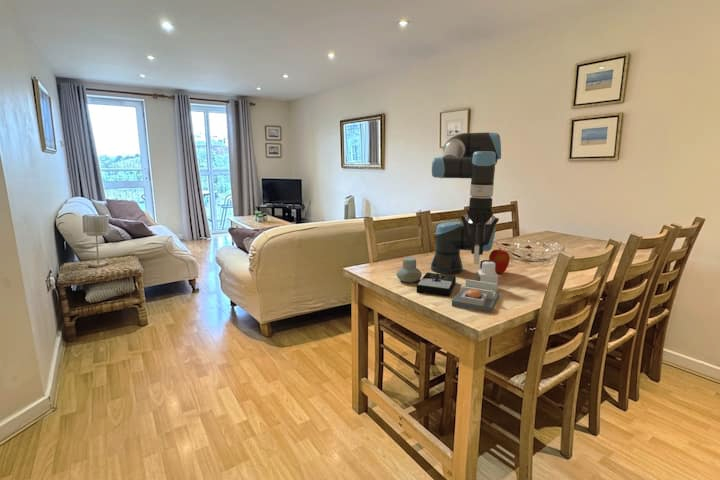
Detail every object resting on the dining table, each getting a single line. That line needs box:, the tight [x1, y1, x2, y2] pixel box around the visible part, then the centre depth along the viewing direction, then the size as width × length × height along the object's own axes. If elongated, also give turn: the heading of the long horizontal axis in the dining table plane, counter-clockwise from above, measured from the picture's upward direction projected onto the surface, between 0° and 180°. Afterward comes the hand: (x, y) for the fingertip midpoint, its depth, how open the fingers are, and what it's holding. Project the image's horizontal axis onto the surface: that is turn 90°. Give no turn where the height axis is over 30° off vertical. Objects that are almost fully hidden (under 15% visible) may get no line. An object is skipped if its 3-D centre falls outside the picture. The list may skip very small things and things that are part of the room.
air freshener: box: [396, 257, 423, 284], centre depth 165 cm, size 11×8×10 cm
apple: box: [488, 248, 511, 274], centre depth 178 cm, size 9×9×12 cm
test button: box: [467, 289, 482, 299], centre depth 137 cm, size 5×5×2 cm
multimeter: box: [416, 272, 457, 298], centre depth 157 cm, size 13×19×5 cm
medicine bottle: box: [476, 259, 499, 284], centre depth 155 cm, size 7×7×12 cm
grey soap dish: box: [451, 278, 500, 314], centre depth 142 cm, size 14×19×5 cm
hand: (476, 263), depth 134 cm, fingers closed
